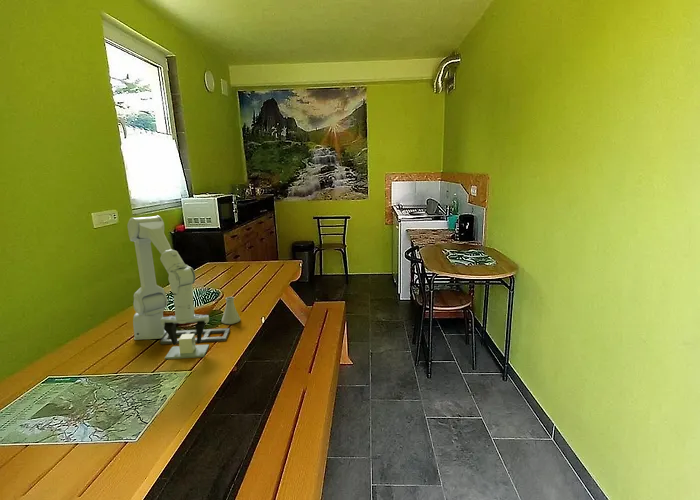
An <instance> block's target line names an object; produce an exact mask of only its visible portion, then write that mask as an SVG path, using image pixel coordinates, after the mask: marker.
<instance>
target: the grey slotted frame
mask: <svg viewBox="0 0 700 500" xmlns="http://www.w3.org/2000/svg"><path fill="white" fill-rule="evenodd" d="M230 331H231V330H230V327H227V328H208V329H205V328H204V329H203V332H202V337H201V342H200V343H210V342H226V341H227V338H228V337H229V334H230ZM182 334H195V335H197V332H196V329H184V330H182V329H181V330H176V335H177V336H181V335H182ZM211 334H223V336H210V335H211ZM159 343H160V345H173V343H172V340H171V338H170V336H169V335H168V333H167V332H166V334H165V335H164V336H163V337H162V338H161V340H160V342H159ZM195 343H197V337H195ZM177 344H179V338H177V343H176V345H177Z"/></svg>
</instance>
